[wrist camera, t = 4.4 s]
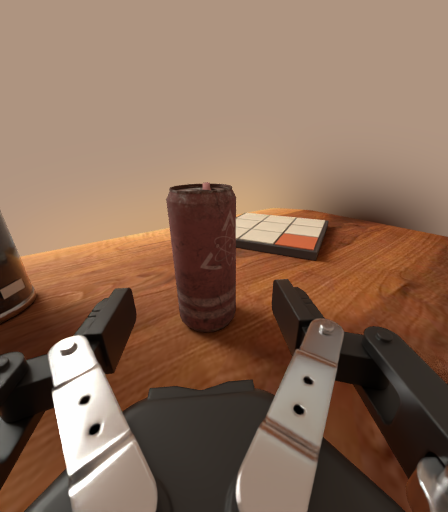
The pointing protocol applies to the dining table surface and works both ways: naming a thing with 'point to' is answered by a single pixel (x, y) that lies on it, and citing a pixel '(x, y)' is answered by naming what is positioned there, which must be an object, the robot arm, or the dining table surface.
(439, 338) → the dining table surface
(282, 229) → the board
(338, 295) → the dining table surface
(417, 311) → the dining table surface
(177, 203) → the can
